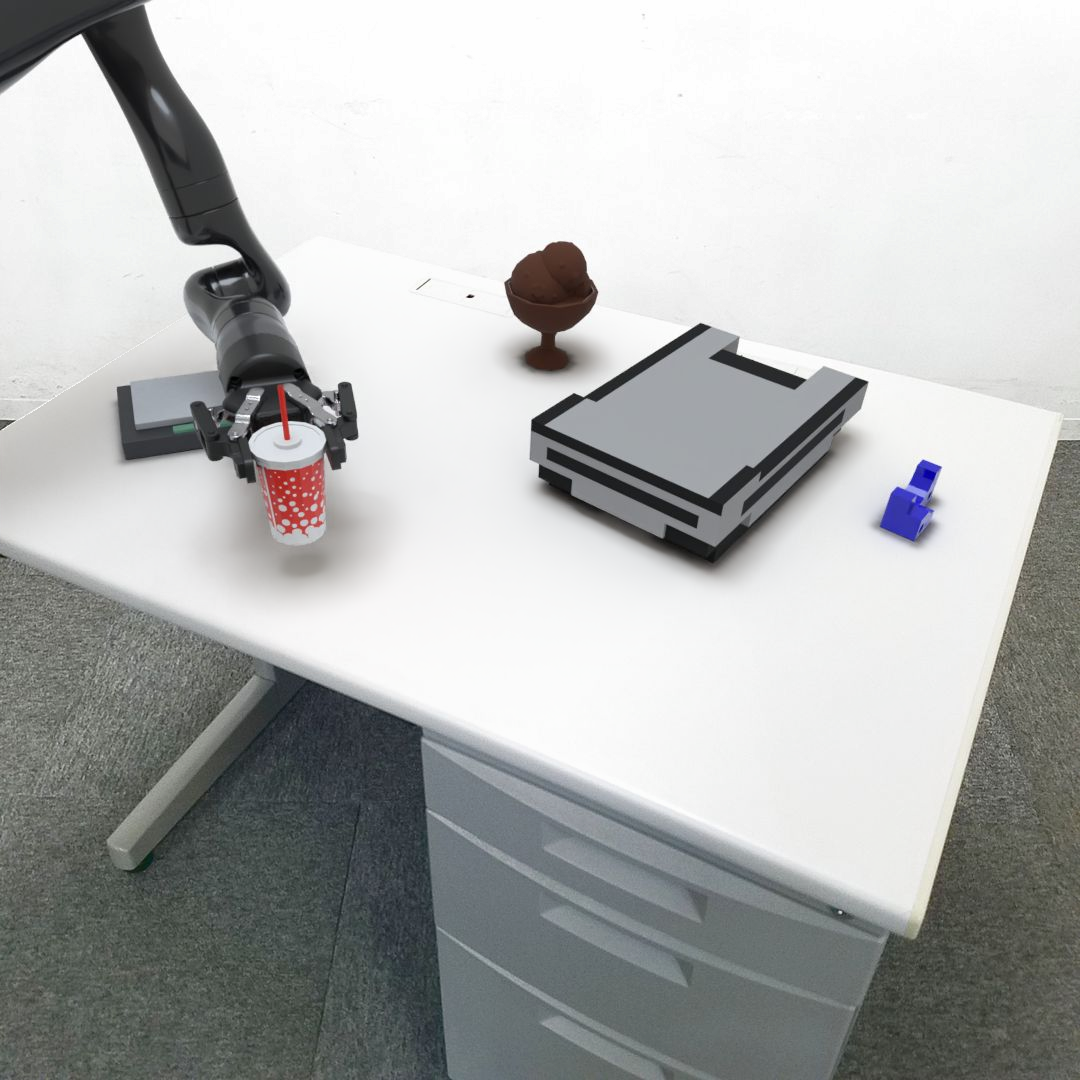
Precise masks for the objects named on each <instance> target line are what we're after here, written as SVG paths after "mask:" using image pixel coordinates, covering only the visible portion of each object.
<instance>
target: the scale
mask: <svg viewBox="0 0 1080 1080" xmlns="http://www.w3.org/2000/svg"><path fill="white" fill-rule="evenodd" d="M116 397H117V406H118V407H117V408H118V417H119V427H120V436H121V446H122V450H123V453H124V458H125V460H135V459H141V458H146V457H153V456H158V455H166V454H173V453H180V452H184V451H192V450H198V449H203V446H202V444H201V442H200V440H199V438H198V436H197V434H196V432H195V429H194V424H193V419H192V414H191V409H190V404H191V403H192V402H195V401H202V402H204V403H205V405H206V407H207V408H208V407H214V406H219V405H222V403H223V400H224V399H225V398H226V397H225V393H224V390H223V386H222V383H221V381H220V379H219V371H218V369H216V370H209V371H201V372H194V373H193V372H192V373H187V374H178V375H172V376H171V375H170V376H164V377H155V378H148V379H141V380H132V381H130V382H129V384H127V385H119V386H116ZM232 426H233V425H232V424H230V423H228V422H227V421H226V420H222V421H221V422H220V427H218V430H219V433H220V434H228V432H229V430H230V429H231V427H232Z"/></svg>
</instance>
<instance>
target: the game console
mask: <svg viewBox="0 0 1080 1080" xmlns="http://www.w3.org/2000/svg"><path fill="white" fill-rule="evenodd" d="M740 338H741V336H739V335H736V334H734V333H731V332H728V331H725V330H723V329H719V328H717V327H714V326H711V325H708V324H706V323H702V322H699V323H698V324H696V325H694V326H693V327H691V328H690V329H688V330H686V331H685V332H684V333H682V334H680V335H679V336H677V337H676V338H674V339H672V340H671V341H669V342H668V343H666V344H665V345H663V346H662V347H660V348H659V349H657V350H655V351H654V352H652V353H650V354H649V355H647V356H646V357H644V358H643V359H641V360H640V361H638V362H637V363H635V364H633V365H632V366H630V367H629V368H627V369H625V370H623V371H621V372H620V373H619V374H618V375H616V376H614V377H613V378H611V379H610V380H608V381H607V382H605V383H603V384H602V385H600V386H599V387H597V388H596V389H594V390H592V391H591V392H589V393H588V394H586V395H584V396H582V395H580V394H577V393H575V392H573V393H572V394H569V395H568V396H566V397H565V398H564V399H562V400H560V401H558V402H557V403H555V404H554V405H552V406H550V407H549V408H548V409H545V410H544V411H542V412H541V413H539V414H538V415H535V416H534V417H533V418H531V420H530V439H529V440H530V441H529V445H530V446H529V461H532V462H534V463H536V464H538V472H537V473H538V475H537V476H538V478H539V479H541V480H543V481H545V482H547V483H548V484H549V485H550V486H552V487H555V488H557V489H559V490H561V491H563V492H565V493H567V494H570V495H571V496H572V497H575V498H577V499H579V500H581V501H583V502H585V503H587V504H589V505H591V506H592V507H593V506H594V507H596V508H598V509H599V510H602V511H604V512H606V513H607V514H610V515H612V516H614V517H616V518H618V519H620V520H622V521H625V522H627V523H629V524H631V525H633V526H635V527H637V528H639V529H642V530H643V531H645V532H647V533H650V534H652V535H654V536H656V537H658V538H660V539H663V540H665V541H668V542H669V543H671V544H673V545H675V546H678V547H680V548H682V549H684V550H686V551H688V552H690V553H692V554H694V555H697V556H699V557H701V558H702V559H705V560H707V561H709V562H711V563H713V564H714V563H715V562H716V561H717V560H719V558H720V557H721V556H723V555H724V553H726V552H727V551H728V550H729V549H730V548H731V547H732V546H733V545H734V544H735V543H736V542H737V541H738V540H739V539H740V538H741V537H742V536H743V535H744V534H746V532H747V531H748V530H749V529H750V528H752V527H753V526H754V525H755V524H756V523H757V522H758V521H759V520H760V519H761V518H762V517H763V516H764V515H765V514H766V513H767V512H768V511H770V509H771V508H772V507H773V506H774V505H776V504H777V502H778V501H780V499H782V497H784V495H786V494H787V492H789V491H790V490H791V489H792V488H793V487H794V486H795V485H797V483H798V482H799V481H800V480H801V479H802V478H803V477H804V476H805V475H806V474H808V472H810V471H811V470H812V469H813V467H815V465H817V464H818V463H819V462H820V461H821V460H822V459H823V458H824V457H825V456H826V455H827V454H828V453H829V450H830V448H831V446H832V441H833V438H834V437H835V436H836V435H837V434H838V433H840V431H842V428H843V427H844V425H846V424H847V423H848V422H849V421H850V420H851V419H852V418H853V417H854V416H855V415H856V414H857V413H858V412H859V411H861V410H862V407H863V404H864V400H865V396H866V393H867V390H868V386H869V381H868V380H865V379H863V378H860V377H856V376H854V375H851V374H848V373H847V372H846V373H845V372H843V371H839V370H837V369H834V368H831V367H828V366H825V365H823V366H822V367H820V368H819V369H818V370H816V372H814V373H813V374H812V375H811V376H810V377H809V378H804V377H801V376H798V375H796V374H793V373H791V372H787V371H785V370H782V369H779V368H776V367H773V366H771V365H768V364H766V363H763V362H760V361H757V360H754V359H751V358H749V357H746V356H743V355H740V354H738V348H739V343H740Z"/></svg>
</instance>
